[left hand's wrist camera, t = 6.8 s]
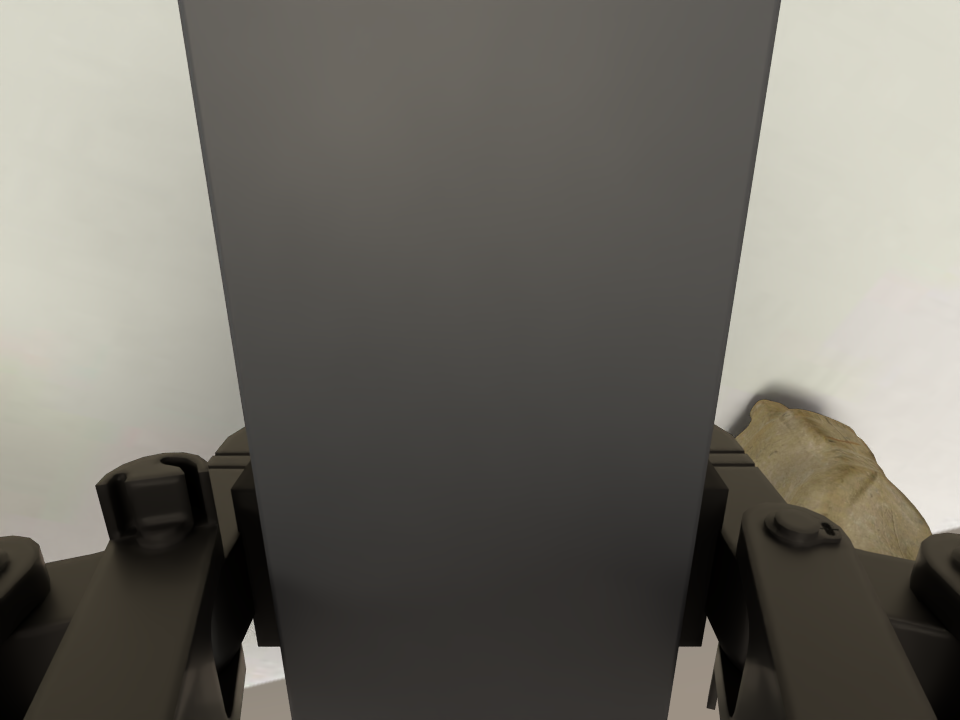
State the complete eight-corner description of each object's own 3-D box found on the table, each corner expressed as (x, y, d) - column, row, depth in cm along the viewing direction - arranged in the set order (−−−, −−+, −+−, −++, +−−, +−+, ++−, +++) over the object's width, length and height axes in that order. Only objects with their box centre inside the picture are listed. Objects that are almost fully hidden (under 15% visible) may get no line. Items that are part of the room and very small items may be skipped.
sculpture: (673, 488, 31) (817, 780, 17) (746, 370, 29) (983, 599, 15) (770, 525, 32) (984, 834, 18) (850, 412, 30) (1169, 670, 16)
